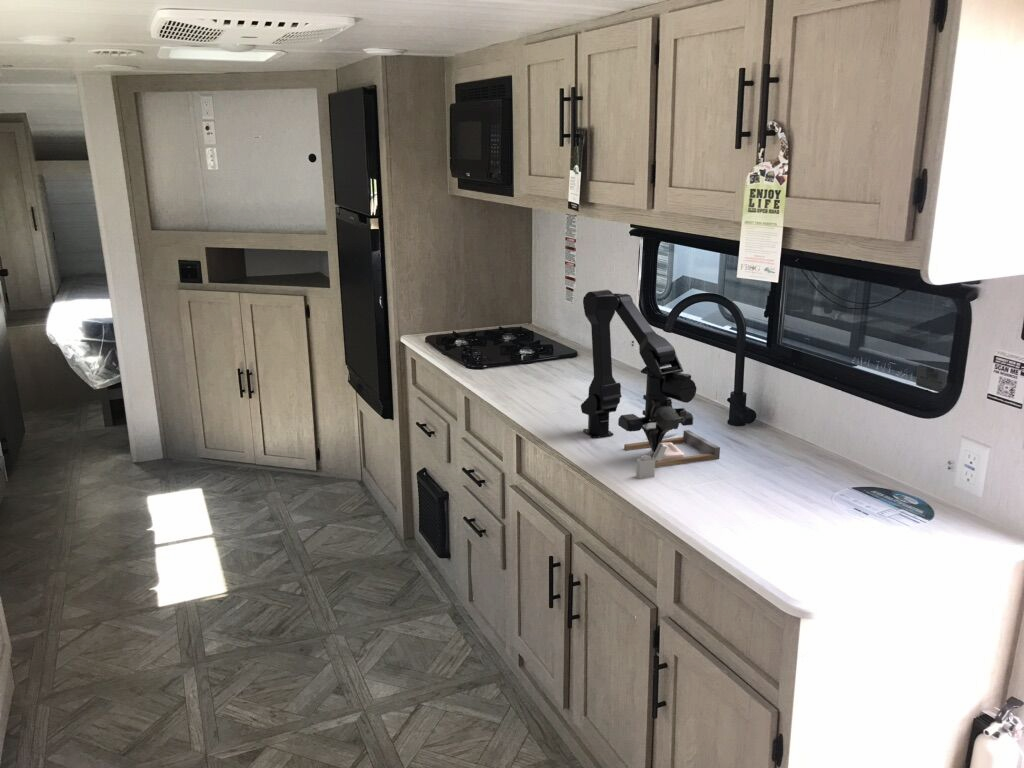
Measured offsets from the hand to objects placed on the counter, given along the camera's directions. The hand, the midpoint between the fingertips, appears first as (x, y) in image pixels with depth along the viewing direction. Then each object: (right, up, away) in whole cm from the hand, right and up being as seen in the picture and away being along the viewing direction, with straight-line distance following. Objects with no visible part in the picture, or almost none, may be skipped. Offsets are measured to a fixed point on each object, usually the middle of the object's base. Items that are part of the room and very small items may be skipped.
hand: (654, 451), depth 220 cm
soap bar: (+4, -1, +1) cm, 4 cm away
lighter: (-3, -5, -13) cm, 14 cm away
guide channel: (+4, -1, +2) cm, 5 cm away
